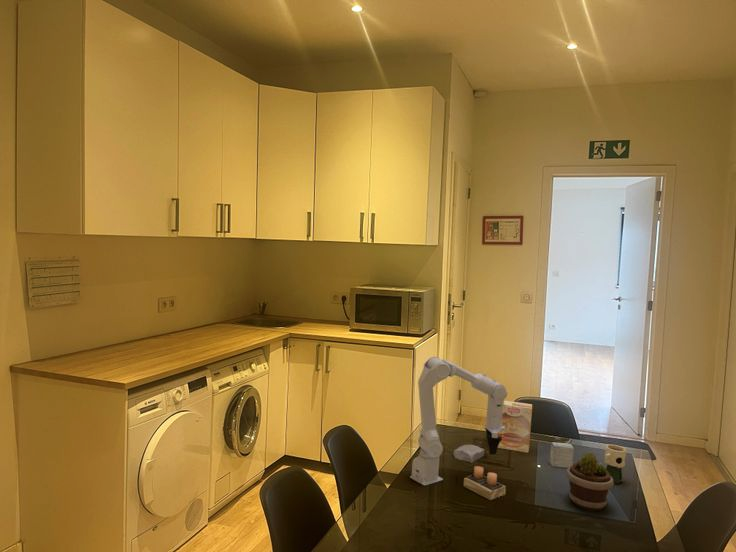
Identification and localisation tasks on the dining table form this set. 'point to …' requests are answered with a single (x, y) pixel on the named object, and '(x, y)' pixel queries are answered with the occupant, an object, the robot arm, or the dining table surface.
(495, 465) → the dining table surface
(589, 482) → the flowerpot
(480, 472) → the peg
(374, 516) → the dining table surface
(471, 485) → the socket block
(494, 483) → the peg
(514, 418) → the coffeecake box
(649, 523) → the dining table surface
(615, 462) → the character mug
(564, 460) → the medicine box
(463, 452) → the stone block
